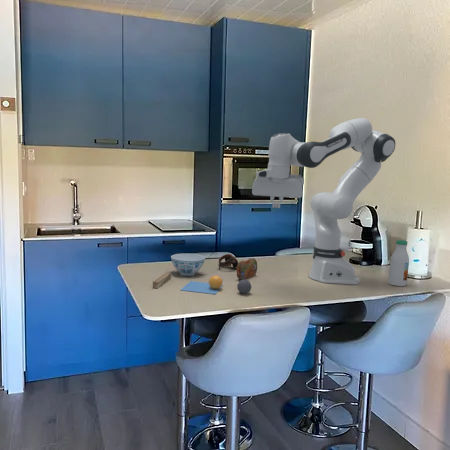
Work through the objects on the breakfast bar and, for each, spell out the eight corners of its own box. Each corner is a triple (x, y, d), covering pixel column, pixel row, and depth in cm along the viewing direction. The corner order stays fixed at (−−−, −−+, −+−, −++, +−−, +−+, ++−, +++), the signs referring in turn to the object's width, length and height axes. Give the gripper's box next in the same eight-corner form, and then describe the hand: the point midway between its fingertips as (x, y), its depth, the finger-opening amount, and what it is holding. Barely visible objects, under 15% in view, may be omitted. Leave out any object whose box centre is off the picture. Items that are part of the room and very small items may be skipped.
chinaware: (180, 268, 212) (181, 252, 211) (209, 272, 207) (210, 256, 206) (164, 275, 199) (164, 257, 197) (195, 280, 193) (195, 262, 192)
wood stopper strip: (170, 278, 193) (171, 273, 192) (157, 288, 177) (157, 282, 177) (166, 278, 193) (166, 272, 193) (152, 288, 178) (152, 281, 177)
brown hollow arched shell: (242, 272, 213) (236, 258, 209) (223, 280, 213) (217, 266, 210) (238, 260, 224) (232, 247, 220) (220, 268, 224) (214, 254, 221)
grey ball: (235, 280, 179) (241, 291, 180) (234, 287, 174) (241, 298, 175) (247, 274, 177) (254, 285, 179) (246, 281, 172) (253, 292, 174)
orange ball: (217, 271, 183) (207, 280, 184) (213, 274, 177) (204, 283, 179) (226, 281, 182) (217, 290, 184) (223, 284, 177) (214, 293, 178)
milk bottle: (397, 287, 198) (402, 242, 196) (384, 282, 205) (388, 239, 202) (410, 286, 202) (415, 241, 199) (396, 281, 209) (401, 238, 206)
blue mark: (223, 285, 187) (223, 284, 187) (215, 294, 174) (215, 293, 174) (190, 281, 190) (190, 281, 190) (180, 290, 176) (180, 289, 176)
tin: (240, 281, 194) (242, 262, 193) (234, 280, 196) (235, 261, 195) (257, 275, 207) (258, 257, 206) (251, 274, 208) (252, 256, 207)
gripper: (304, 174, 184) (302, 208, 186) (254, 172, 188) (252, 205, 190) (304, 175, 177) (301, 210, 179) (252, 172, 182) (250, 206, 184)
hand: (276, 207), depth 185 cm, fingers closed
